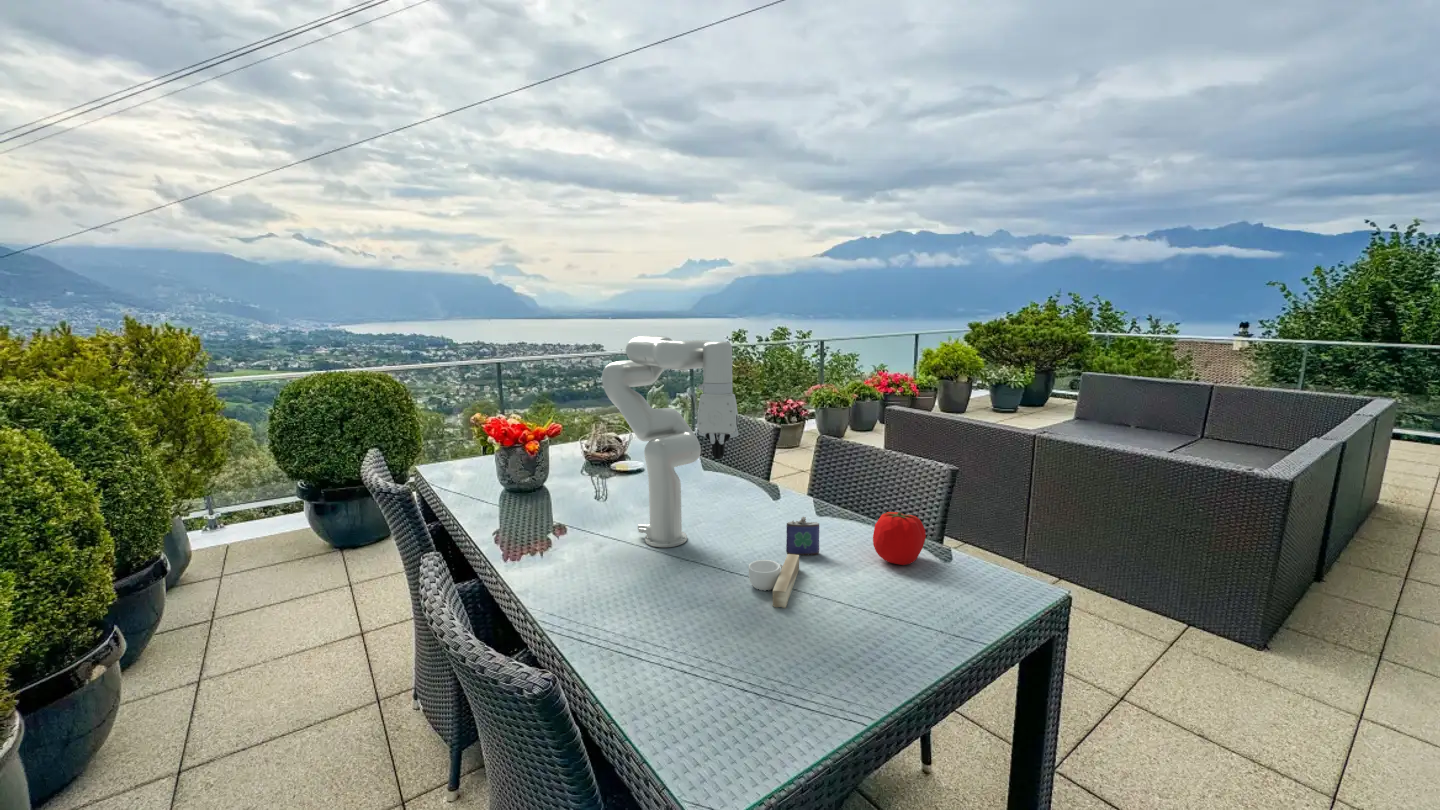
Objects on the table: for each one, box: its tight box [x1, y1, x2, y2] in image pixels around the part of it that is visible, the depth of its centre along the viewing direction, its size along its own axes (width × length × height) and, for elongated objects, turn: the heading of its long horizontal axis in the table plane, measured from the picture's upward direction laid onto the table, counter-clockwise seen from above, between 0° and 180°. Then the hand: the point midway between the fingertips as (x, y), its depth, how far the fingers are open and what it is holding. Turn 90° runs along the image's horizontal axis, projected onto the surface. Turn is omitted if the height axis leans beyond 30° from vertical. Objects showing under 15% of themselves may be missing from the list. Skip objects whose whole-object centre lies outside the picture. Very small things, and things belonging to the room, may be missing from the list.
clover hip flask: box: [785, 516, 820, 556], centre depth 164 cm, size 9×3×11 cm, turn 88°
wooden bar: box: [772, 554, 800, 609], centre depth 143 cm, size 3×22×4 cm, turn 164°
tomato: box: [872, 511, 927, 566], centre depth 158 cm, size 16×14×14 cm
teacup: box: [748, 559, 783, 592], centre depth 144 cm, size 10×8×5 cm
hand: (718, 457), depth 155 cm, fingers closed
